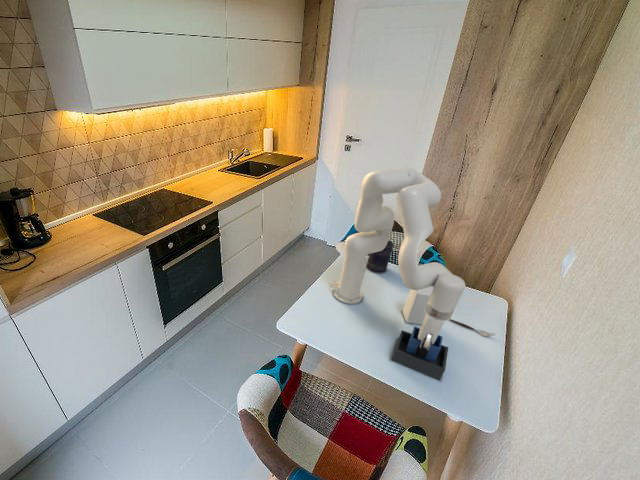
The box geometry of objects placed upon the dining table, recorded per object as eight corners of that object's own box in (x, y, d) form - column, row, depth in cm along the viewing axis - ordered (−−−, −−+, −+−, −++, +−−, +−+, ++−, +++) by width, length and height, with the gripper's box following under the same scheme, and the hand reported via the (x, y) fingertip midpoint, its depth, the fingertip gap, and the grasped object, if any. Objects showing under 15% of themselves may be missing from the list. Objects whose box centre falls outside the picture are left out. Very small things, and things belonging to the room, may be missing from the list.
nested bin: (405, 351, 113) (411, 338, 109) (409, 339, 118) (414, 326, 114) (434, 362, 109) (440, 349, 105) (436, 349, 113) (442, 336, 110)
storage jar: (383, 275, 161) (391, 249, 153) (364, 269, 166) (370, 244, 158) (387, 266, 169) (395, 241, 161) (368, 261, 173) (375, 236, 165)
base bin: (391, 360, 115) (395, 349, 112) (397, 340, 123) (401, 329, 120) (439, 380, 108) (445, 370, 105) (443, 357, 116) (448, 347, 113)
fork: (449, 318, 134) (450, 314, 133) (494, 336, 125) (496, 332, 124) (447, 321, 132) (449, 317, 131) (493, 340, 124) (495, 336, 123)
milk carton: (424, 325, 130) (440, 287, 120) (406, 322, 132) (420, 285, 121) (419, 314, 136) (434, 277, 126) (402, 311, 137) (415, 275, 127)
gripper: (429, 292, 111) (414, 330, 120) (422, 320, 99) (406, 360, 108) (454, 300, 107) (436, 338, 117) (449, 330, 95) (430, 369, 105)
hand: (422, 348), depth 112 cm, fingers closed on nested bin, 7 cm apart
